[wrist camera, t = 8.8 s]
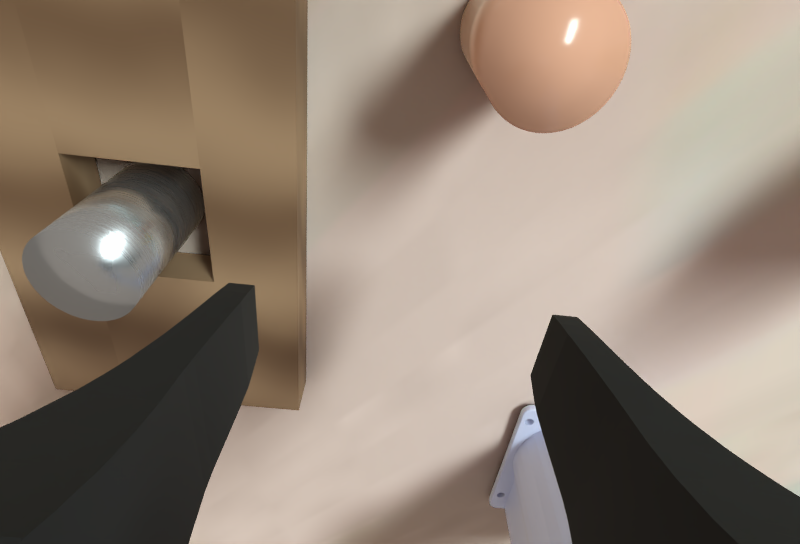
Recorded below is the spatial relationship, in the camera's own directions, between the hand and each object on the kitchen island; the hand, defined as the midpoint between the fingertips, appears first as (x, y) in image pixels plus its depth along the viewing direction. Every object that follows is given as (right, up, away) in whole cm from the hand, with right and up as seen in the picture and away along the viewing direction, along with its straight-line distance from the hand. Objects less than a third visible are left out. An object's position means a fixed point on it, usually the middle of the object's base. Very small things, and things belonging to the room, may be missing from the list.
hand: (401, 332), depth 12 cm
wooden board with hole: (-10, +4, +8) cm, 14 cm away
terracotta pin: (+4, +10, +5) cm, 12 cm away
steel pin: (-10, +5, +8) cm, 14 cm away
